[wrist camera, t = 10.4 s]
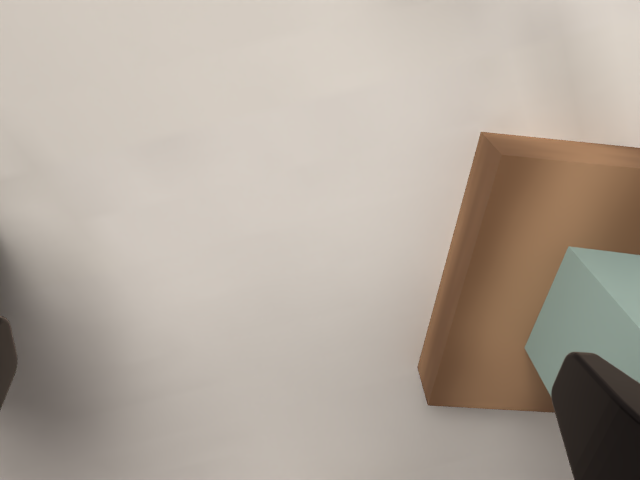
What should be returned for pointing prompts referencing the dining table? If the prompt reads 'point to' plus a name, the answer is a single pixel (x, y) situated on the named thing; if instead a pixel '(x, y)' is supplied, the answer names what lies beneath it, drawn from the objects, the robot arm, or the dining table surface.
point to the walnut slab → (520, 260)
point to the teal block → (589, 313)
